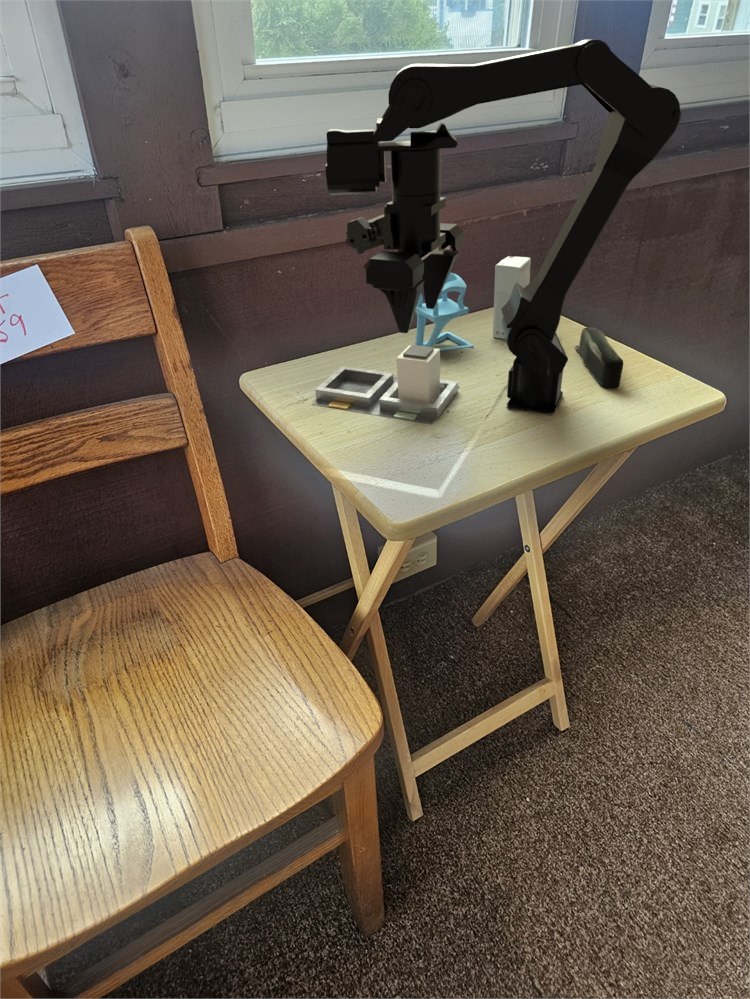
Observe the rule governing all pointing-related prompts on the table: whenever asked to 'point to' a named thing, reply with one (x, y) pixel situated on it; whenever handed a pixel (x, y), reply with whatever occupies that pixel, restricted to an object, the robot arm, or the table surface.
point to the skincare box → (508, 286)
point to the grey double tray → (379, 395)
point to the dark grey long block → (600, 358)
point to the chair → (442, 315)
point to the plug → (419, 374)
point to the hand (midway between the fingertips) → (417, 320)
